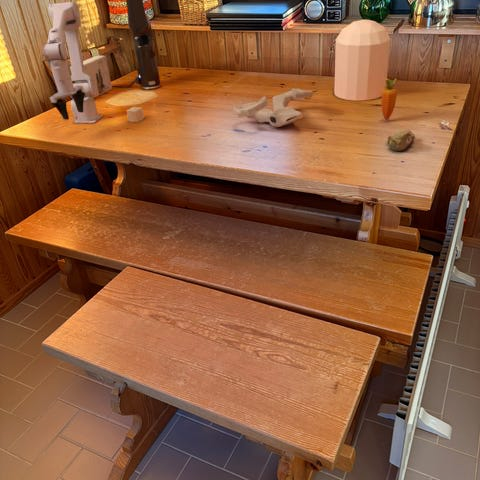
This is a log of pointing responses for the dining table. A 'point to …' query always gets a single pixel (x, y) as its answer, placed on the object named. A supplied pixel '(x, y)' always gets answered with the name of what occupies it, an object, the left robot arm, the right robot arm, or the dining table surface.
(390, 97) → the carrot
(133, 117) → the pale beige block
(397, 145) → the rock
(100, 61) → the skincare box
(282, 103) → the animal horns
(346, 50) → the container
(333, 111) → the dining table surface
